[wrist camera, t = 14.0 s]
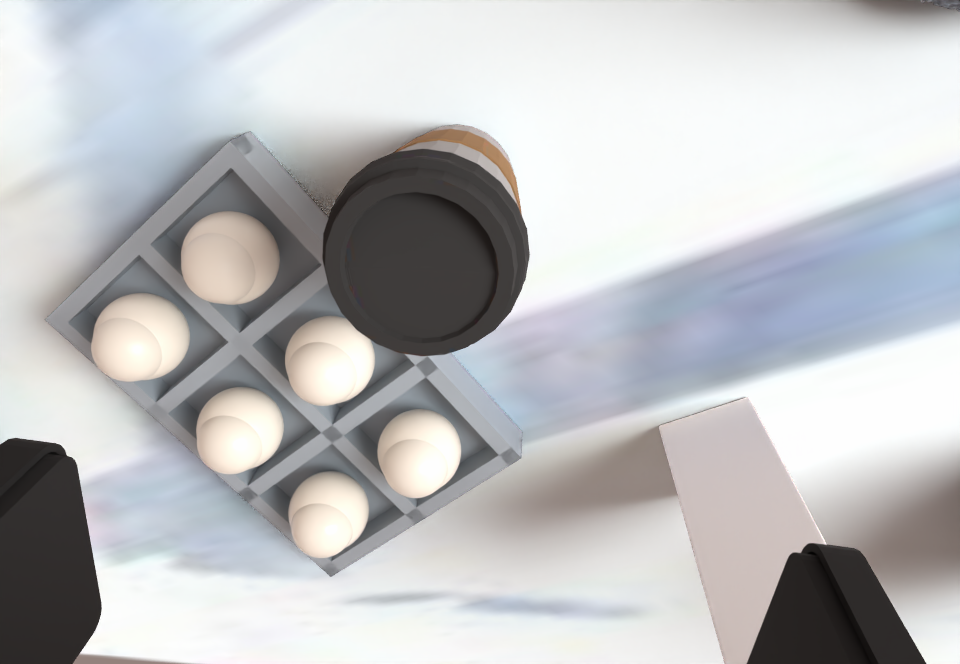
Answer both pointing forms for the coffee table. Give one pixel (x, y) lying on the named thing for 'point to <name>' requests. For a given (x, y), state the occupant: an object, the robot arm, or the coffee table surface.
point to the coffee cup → (429, 243)
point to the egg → (327, 513)
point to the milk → (736, 515)
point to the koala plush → (946, 3)
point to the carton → (278, 357)
